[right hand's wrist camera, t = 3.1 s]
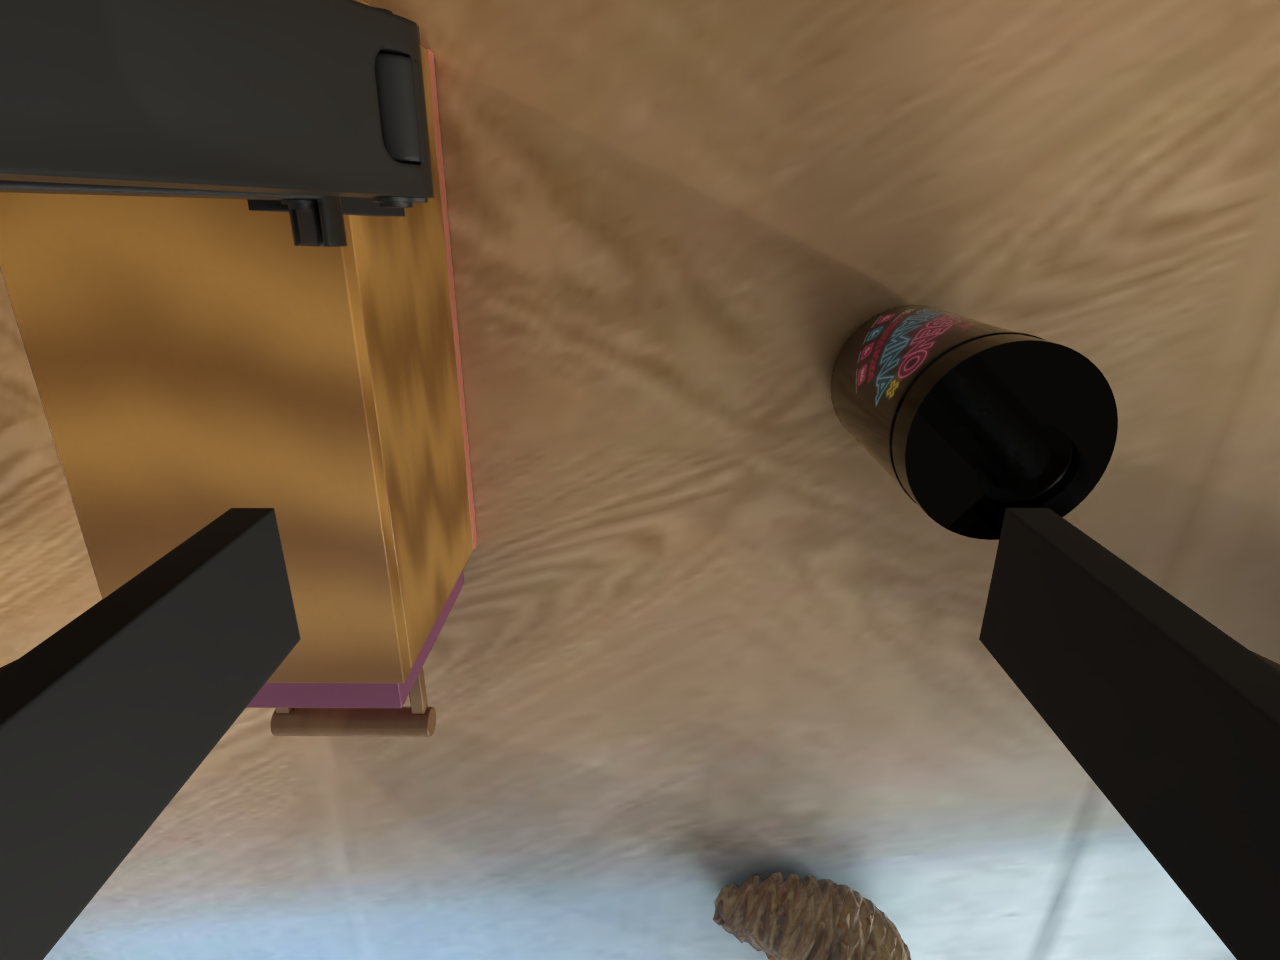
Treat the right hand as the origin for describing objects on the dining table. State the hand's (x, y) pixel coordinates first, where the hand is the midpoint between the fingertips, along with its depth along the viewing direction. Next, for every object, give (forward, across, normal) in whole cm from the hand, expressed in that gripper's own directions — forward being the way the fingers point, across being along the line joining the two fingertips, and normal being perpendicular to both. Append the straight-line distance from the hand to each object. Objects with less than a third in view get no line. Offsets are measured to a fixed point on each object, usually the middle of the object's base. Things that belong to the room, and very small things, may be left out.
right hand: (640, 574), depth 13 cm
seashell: (+20, -11, +37) cm, 44 cm away
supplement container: (+20, -12, +1) cm, 24 cm away
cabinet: (+21, +13, -1) cm, 25 cm away
